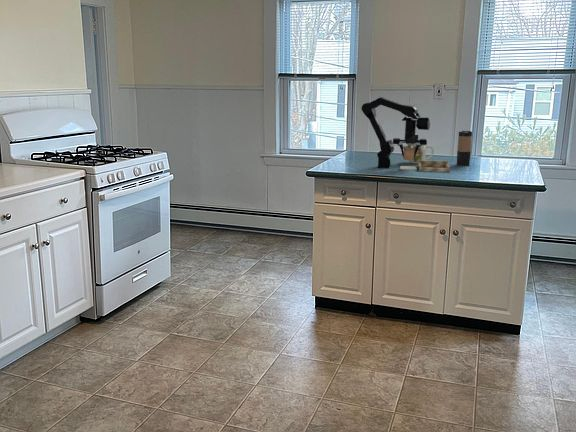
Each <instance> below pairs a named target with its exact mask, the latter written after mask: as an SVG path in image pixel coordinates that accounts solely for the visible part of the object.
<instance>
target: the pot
mask: <svg viewBox="0 0 576 432" xmlns="http://www.w3.org/2000/svg"><path fill="white" fill-rule="evenodd" d="M414 151H415V147H414V146H411V144H408V145H403V153H404V155H403V156H402V158H403V160H406V161H409V160H414Z"/></svg>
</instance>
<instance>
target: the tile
mask: <svg viewBox="0 0 576 432" xmlns="http://www.w3.org/2000/svg"><path fill="white" fill-rule="evenodd" d="M399 170H406V171H407V170H408V171H410V170H411V171H418V170H417V166H414V165H412V166H410V165H400V166H399Z"/></svg>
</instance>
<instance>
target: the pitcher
mask: <svg viewBox="0 0 576 432" xmlns="http://www.w3.org/2000/svg"><path fill="white" fill-rule="evenodd" d="M406 146H408V144H406ZM411 146H414V147H416V143H414V144H411ZM428 148H430V150H431V154H430V155H429V156H428V157H426V155H427V149H428ZM434 151H435V150H434V147H433V146H432V145H422V146H420V147H419V148H418V150H417V153H416V155H415V157H414V160H408V162H409V163H410V164H414V165H415V164H417V165H418V160H425V161H429V160H430V159H431V158H432V157H433V156H434V153H435V152H434ZM414 153H415V151H414Z"/></svg>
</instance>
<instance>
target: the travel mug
mask: <svg viewBox="0 0 576 432" xmlns="http://www.w3.org/2000/svg"><path fill="white" fill-rule="evenodd" d="M472 138H473V131H470V130H462V131H458V139H457V151H456V165H457V166H462V167H463V166H464V167H465V166H466V167H470V163H471V162H470V161H471V154H472V140H473V139H472Z"/></svg>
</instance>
